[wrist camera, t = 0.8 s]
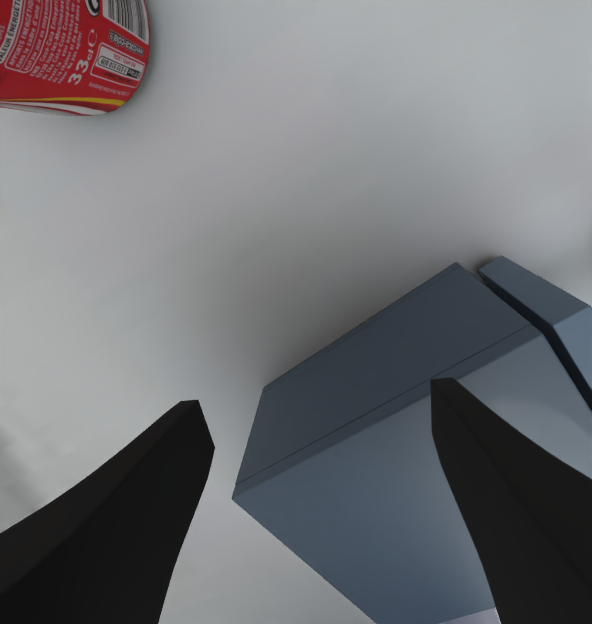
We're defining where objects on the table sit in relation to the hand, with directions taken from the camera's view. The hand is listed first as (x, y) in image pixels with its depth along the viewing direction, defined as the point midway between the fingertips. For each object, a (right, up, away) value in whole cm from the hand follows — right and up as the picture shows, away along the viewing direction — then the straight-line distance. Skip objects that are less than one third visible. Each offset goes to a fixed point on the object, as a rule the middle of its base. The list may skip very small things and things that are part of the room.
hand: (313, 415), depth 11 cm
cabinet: (+6, -2, +11) cm, 13 cm away
